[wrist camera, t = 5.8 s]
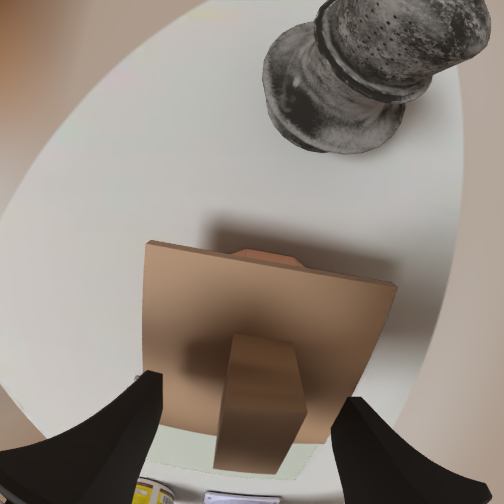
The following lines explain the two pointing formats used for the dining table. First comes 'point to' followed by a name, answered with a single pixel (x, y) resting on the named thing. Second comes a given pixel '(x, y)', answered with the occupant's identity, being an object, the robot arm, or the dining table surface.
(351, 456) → the robot arm
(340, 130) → the salt shaker
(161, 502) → the supplement bottle
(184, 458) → the sage rubber mat
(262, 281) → the walnut lid
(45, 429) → the dining table surface
